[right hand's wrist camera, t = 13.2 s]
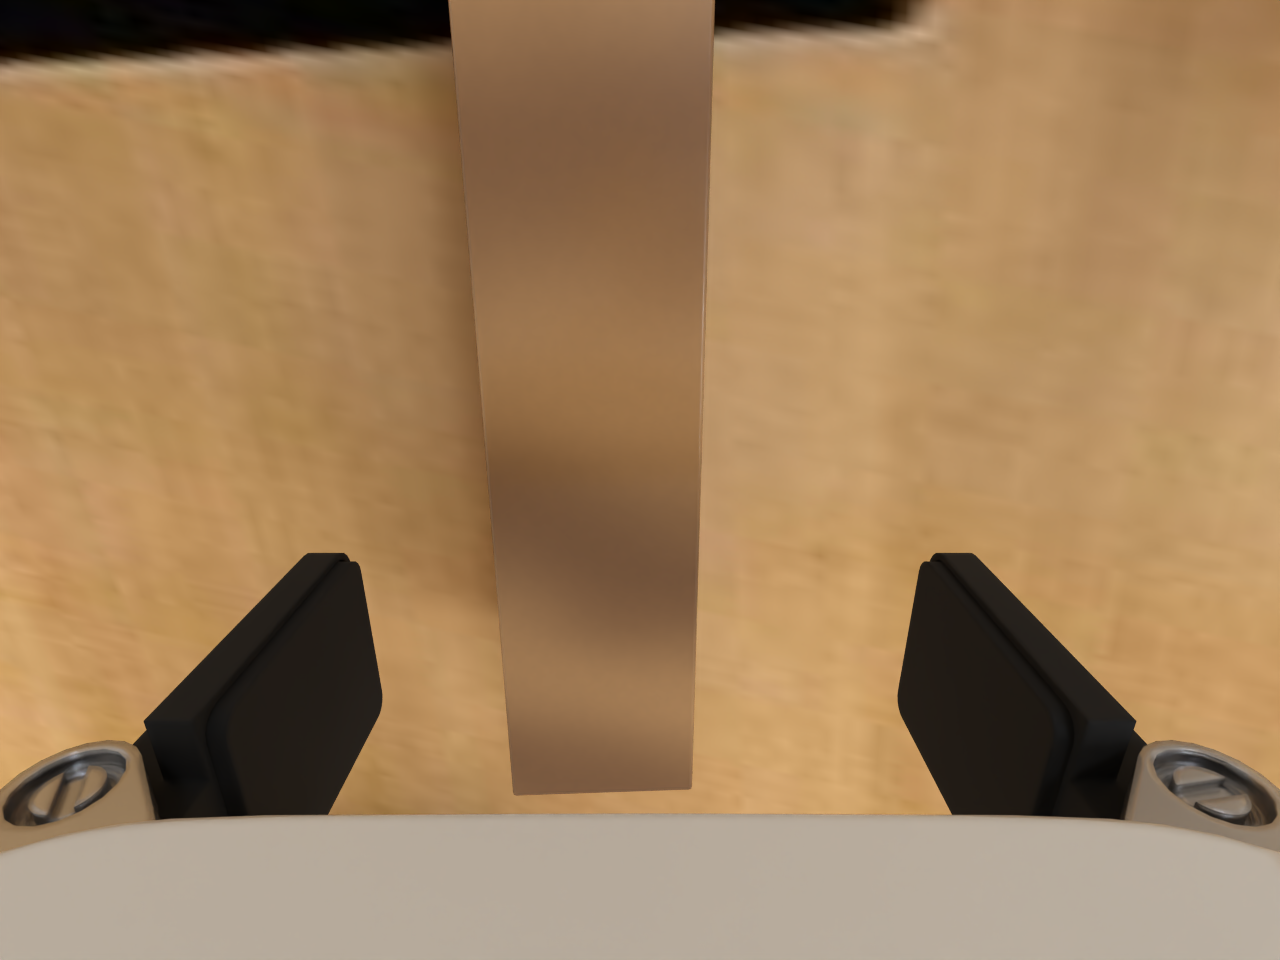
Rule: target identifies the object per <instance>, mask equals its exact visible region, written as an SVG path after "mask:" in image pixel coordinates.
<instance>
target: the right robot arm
mask: <svg viewBox="0 0 1280 960" xmlns="http://www.w3.org/2000/svg"><path fill="white" fill-rule="evenodd" d="M381 707H382V689H381V683H380V677H379V671H378V666H377V660H376V654H375V649H374V643H373V637H372V631H371V626H370V620H369V614H368V609H367V603H366V597H365V591H364V586H363V580H362V574H361V570H360V566H359V564H358V563H357V562H350V560H349V558H348V556H347V555H346V554H344V553H308V554H306V555H305V556H304V557H303V558H302V559H301V560H300V561H299V562H298V563H297V564H296V565H295V566H294V567H293V568H292V569H291V570H290V571H289V572H288V573H287V574H286V575H285V576H284V577H283V578H282V579H281V580H280V581H279V582H278V583H277V584H276V585H275V586H274V587H273V588H272V589H271V591H270V592H269V593H268V594H267V595H266V596H265V597H264V598H263V599H262V600H261V601H260V602H259V603H258V604H257V605H256V606H255V607H254V608H253V609H252V610H251V611H250V612H249V613H248V614H247V615H246V616H245V617H244V618H243V619H242V620H241V621H240V622H239V623H238V624H237V626H236V627H235V628H234V629H233V630H232V631H231V632H230V633H229V634H228V635H227V636H226V637H225V638H224V639H223V640H222V641H221V642H220V643H219V644H218V645H217V646H216V647H215V648H214V649H213V650H212V651H211V652H210V653H209V654H208V655H207V656H206V657H205V658H204V660H203V661H202V662H201V663H200V664H199V665H198V666H197V667H196V668H195V669H194V670H193V671H192V672H191V673H190V674H189V675H188V676H187V677H186V678H185V679H184V680H183V681H182V682H181V683H180V684H179V685H178V686H177V687H176V688H175V689H174V690H173V691H172V692H171V693H170V695H169V696H168V697H167V698H166V699H165V700H164V701H163V702H162V703H161V704H160V705H159V706H158V707H157V708H156V709H155V710H154V711H153V712H152V713H151V714H150V715H149V716H148V717H147V718H146V719H145V720H144V724H145V727H146V731H145V732H144V733H143V734H142V735H141V736H140V737H139V739H138V740H137V741H136V742H135V743H134V744H133V745H132V744H129V743H127V742H125V741H112V740H106V741H99V742H92V743H86V744H83V745H80V746H76V747H73V748H70V749H67V750H64V751H61V752H59V753H57V754H55V755H53V756H50V757H48V758H46V759H44V760H41V761H40V762H38V763H36V764H35V765H33V766H31V767H30V768H28V769H27V770H25V771H23V772H22V773H20V774H19V775H17V776H16V777H15V778H14V779H13V780H11V781H10V782H9V783H8V784H7V785H5V786H4V787H3V788H2V789H1V790H0V960H1280V790H1279V789H1278V788H1277V787H1276V786H1275V785H1273V784H1272V783H1271V782H1270V781H1269V780H1267V779H1266V778H1265V777H1264V776H1263V775H1261V774H1260V773H1258V772H1257V771H1255V770H1253V769H1252V768H1250V767H1249V766H1247V765H1245V764H1244V763H1242V762H1240V761H1239V760H1236V759H1234V758H1232V757H1230V756H1227V755H1225V754H1223V753H1221V752H1219V751H1216V750H1213V749H1210V748H1207V747H1204V746H1200V745H1197V744H1194V743H1188V742H1181V741H1174V740H1168V741H1155V742H1153V743H1151V744H1148V745H1147V744H1146V743H1145V742H1144V741H1143V740H1142V739H1141V737H1140V736H1139V735H1138V734H1137V733H1136V732H1135V731H1134V727H1135V724H1136V720H1135V719H1134V718H1133V717H1132V716H1131V715H1130V714H1129V713H1128V712H1127V711H1126V710H1125V709H1124V708H1123V707H1122V706H1121V705H1120V704H1119V703H1118V702H1117V701H1116V700H1115V699H1114V698H1113V697H1112V696H1111V695H1110V693H1109V692H1108V691H1107V690H1106V689H1105V688H1104V687H1103V686H1102V685H1101V684H1100V683H1099V682H1098V681H1097V680H1096V679H1095V678H1094V677H1093V676H1092V675H1091V674H1090V673H1089V672H1088V671H1087V670H1086V669H1085V668H1084V667H1083V666H1082V665H1081V664H1080V663H1079V662H1078V661H1077V659H1076V658H1075V657H1074V656H1073V655H1072V654H1071V653H1070V652H1069V651H1068V650H1067V649H1066V648H1065V647H1064V646H1063V645H1062V644H1061V643H1060V642H1059V641H1058V640H1057V639H1056V638H1055V637H1054V636H1053V635H1052V634H1051V633H1050V632H1049V631H1048V630H1047V629H1046V628H1045V627H1044V626H1043V624H1042V623H1041V622H1040V621H1039V620H1038V619H1037V618H1036V617H1035V616H1034V615H1033V614H1032V613H1031V612H1030V611H1029V610H1028V609H1027V608H1026V607H1025V606H1024V605H1023V604H1022V603H1021V602H1020V601H1019V600H1018V599H1017V598H1016V597H1015V596H1014V595H1013V594H1012V593H1011V592H1010V590H1009V589H1008V588H1007V587H1006V586H1005V585H1004V584H1003V583H1002V582H1001V581H1000V580H999V579H998V578H997V577H996V576H995V575H994V574H993V573H992V572H991V571H990V570H989V569H988V568H987V567H986V566H985V565H984V564H983V563H982V562H981V561H980V560H979V559H978V558H977V557H976V556H975V555H974V554H972V553H936V554H934V555H933V556H932V558H931V560H930V562H923V563H922V564H921V566H920V570H919V574H918V580H917V586H916V591H915V597H914V603H913V609H912V614H911V620H910V626H909V631H908V637H907V643H906V649H905V654H904V660H903V666H902V671H901V677H900V683H899V689H898V707H899V711H900V714H901V716H902V718H903V720H904V722H905V724H906V726H907V728H908V730H909V732H910V734H911V736H912V738H913V740H914V742H915V744H916V746H917V747H918V749H919V751H920V753H921V755H922V757H923V759H924V761H925V763H926V765H927V767H928V769H929V771H930V773H931V775H932V777H933V778H934V780H935V782H936V784H937V786H938V788H939V790H940V792H941V794H942V796H943V798H944V800H945V802H946V804H947V806H948V808H949V809H950V811H951V813H952V815H893V814H403V815H328V813H329V811H330V809H331V808H332V806H333V804H334V802H335V800H336V798H337V796H338V794H339V792H340V790H341V788H342V786H343V784H344V782H345V780H346V778H347V777H348V775H349V773H350V771H351V769H352V767H353V765H354V763H355V761H356V759H357V757H358V755H359V753H360V751H361V749H362V747H363V746H364V744H365V742H366V740H367V738H368V736H369V734H370V732H371V730H372V728H373V726H374V724H375V722H376V720H377V718H378V716H379V714H380V711H381Z"/></svg>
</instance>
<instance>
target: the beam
mask: <svg viewBox="0 0 1280 960" xmlns="http://www.w3.org/2000/svg"><path fill="white" fill-rule="evenodd" d="M448 4H449V16H450V28H451V40H452V52H453V65H454V77H455V89H456V101H457V113H458V126H459V138H460V150H461V162H462V174H463V187H464V199H465V211H466V223H467V235H468V248H469V260H470V272H471V284H472V296H473V308H474V321H475V333H476V345H477V357H478V369H479V382H480V394H481V406H482V418H483V430H484V443H485V455H486V467H487V479H488V491H489V503H490V516H491V528H492V540H493V552H494V564H495V577H496V589H497V601H498V613H499V625H500V638H501V650H502V662H503V674H504V686H505V699H506V711H507V723H508V735H509V747H510V759H511V772H512V784H513V793H514V795H540V794H569V793H598V792H627V791H657V790H686V789H691V787H692V766H693V732H694V697H695V663H696V629H697V595H698V561H699V527H700V492H701V458H702V424H703V390H704V356H705V321H706V287H707V253H708V219H709V185H710V151H711V116H712V82H713V48H714V14H715V0H448Z"/></svg>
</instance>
